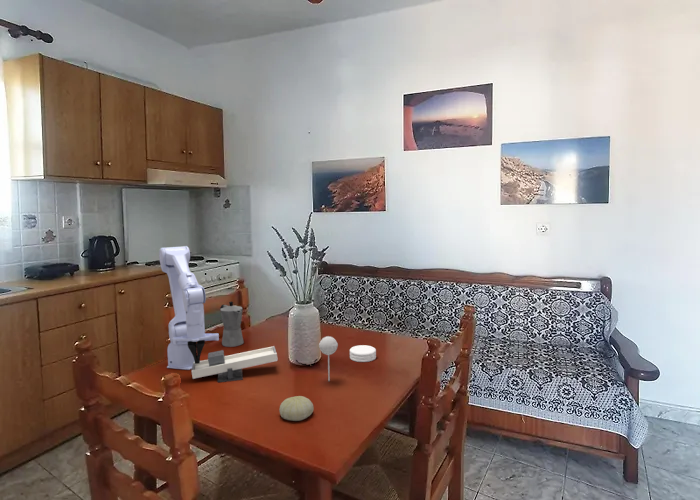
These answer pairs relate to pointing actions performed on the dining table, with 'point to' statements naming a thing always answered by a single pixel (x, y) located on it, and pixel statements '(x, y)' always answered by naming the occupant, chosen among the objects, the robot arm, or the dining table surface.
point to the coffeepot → (231, 325)
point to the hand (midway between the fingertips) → (197, 362)
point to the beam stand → (230, 375)
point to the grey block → (216, 358)
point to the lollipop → (328, 348)
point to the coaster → (362, 353)
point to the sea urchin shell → (296, 408)
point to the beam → (236, 362)
